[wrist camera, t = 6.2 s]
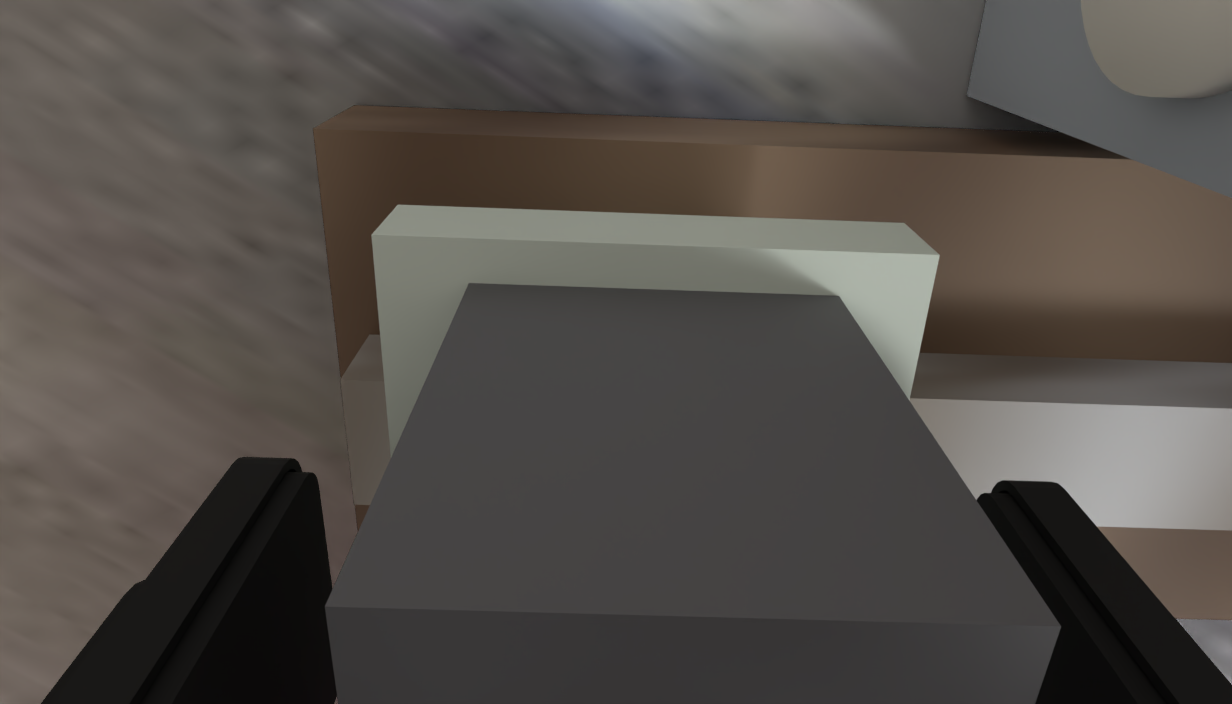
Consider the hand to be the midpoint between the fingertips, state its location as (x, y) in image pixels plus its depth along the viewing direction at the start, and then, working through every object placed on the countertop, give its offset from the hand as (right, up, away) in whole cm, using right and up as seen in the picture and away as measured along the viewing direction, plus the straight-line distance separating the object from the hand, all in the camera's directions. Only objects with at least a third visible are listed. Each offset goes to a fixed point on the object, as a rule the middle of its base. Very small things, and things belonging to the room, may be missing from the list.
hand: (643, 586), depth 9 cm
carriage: (0, +2, +4) cm, 4 cm away
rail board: (+4, +3, +6) cm, 7 cm away
